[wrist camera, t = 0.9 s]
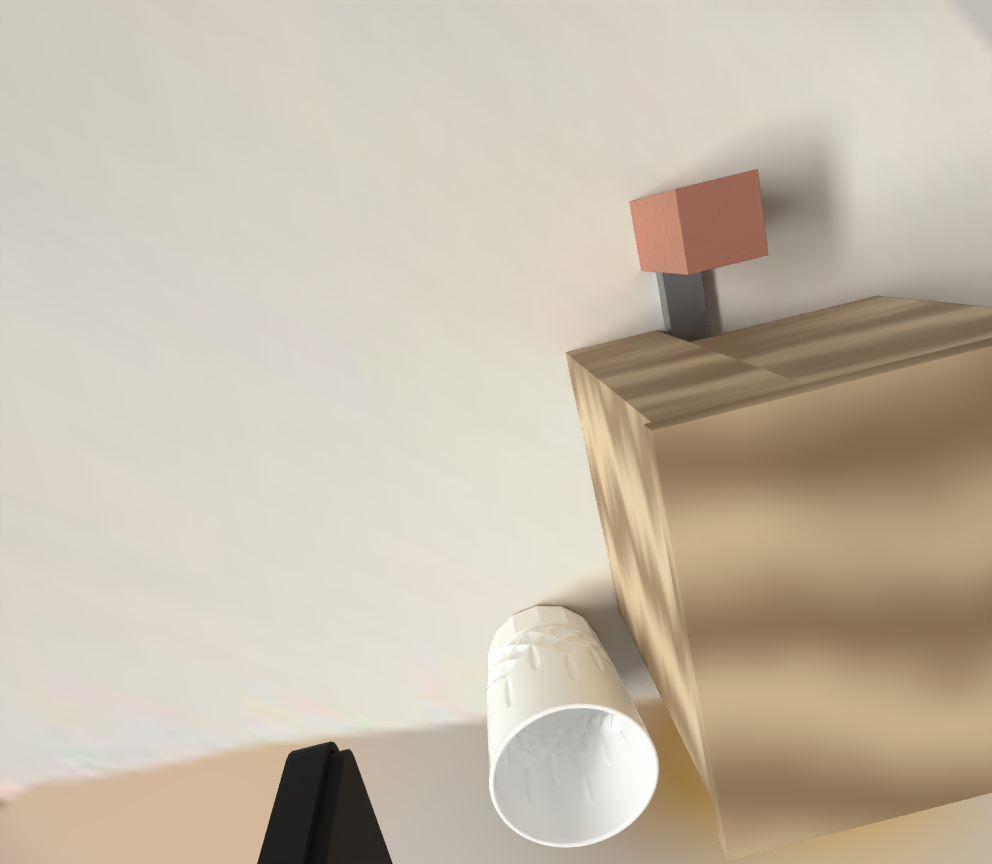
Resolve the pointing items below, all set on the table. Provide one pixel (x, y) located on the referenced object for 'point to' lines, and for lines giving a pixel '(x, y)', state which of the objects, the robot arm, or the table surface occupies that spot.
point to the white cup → (563, 733)
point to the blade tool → (697, 242)
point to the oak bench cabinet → (807, 555)
